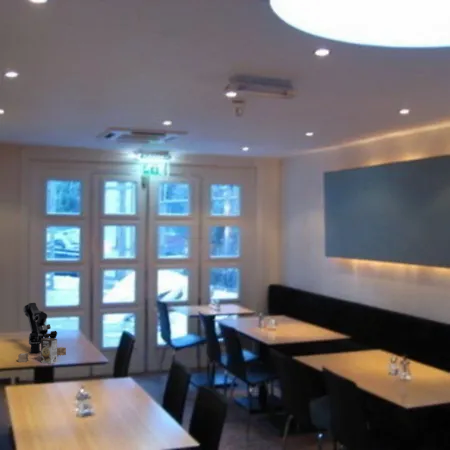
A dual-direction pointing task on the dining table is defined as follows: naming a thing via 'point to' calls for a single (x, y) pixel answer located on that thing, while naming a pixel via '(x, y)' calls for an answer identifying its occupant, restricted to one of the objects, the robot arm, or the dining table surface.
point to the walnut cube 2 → (61, 351)
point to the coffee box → (48, 350)
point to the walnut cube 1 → (23, 357)
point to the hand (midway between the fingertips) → (45, 345)
